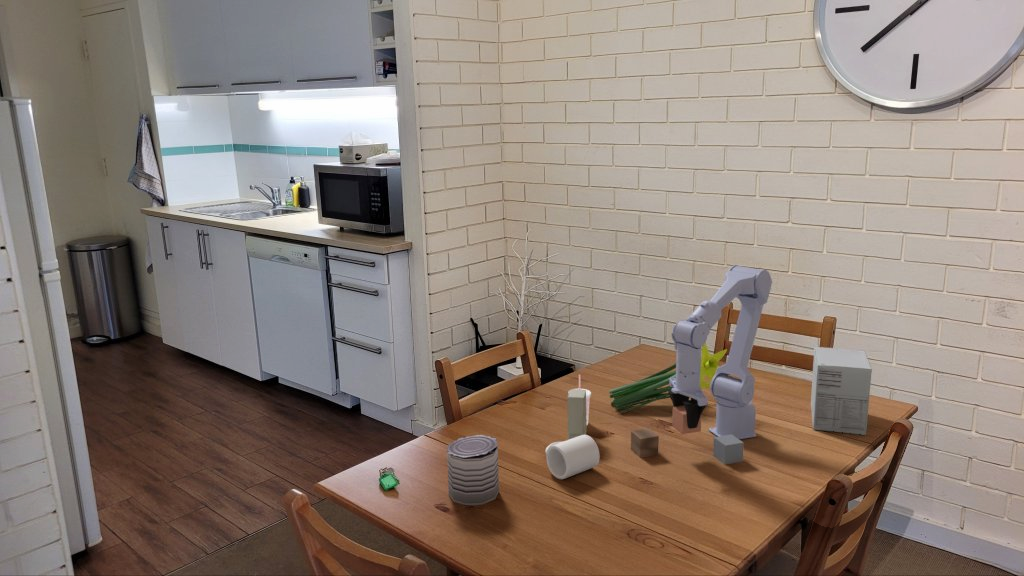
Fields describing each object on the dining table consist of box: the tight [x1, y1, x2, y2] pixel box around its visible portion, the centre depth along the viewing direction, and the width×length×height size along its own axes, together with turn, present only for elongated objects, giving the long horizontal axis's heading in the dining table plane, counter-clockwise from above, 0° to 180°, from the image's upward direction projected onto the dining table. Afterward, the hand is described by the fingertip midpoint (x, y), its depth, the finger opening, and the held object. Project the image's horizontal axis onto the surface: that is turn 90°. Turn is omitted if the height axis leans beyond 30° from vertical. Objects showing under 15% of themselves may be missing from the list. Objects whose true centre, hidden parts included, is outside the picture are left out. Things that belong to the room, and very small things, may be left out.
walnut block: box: [630, 427, 660, 458], centre depth 187 cm, size 5×5×5 cm
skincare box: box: [566, 388, 588, 440], centre depth 196 cm, size 6×4×12 cm
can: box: [446, 434, 500, 506], centre depth 168 cm, size 11×11×12 cm
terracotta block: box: [671, 406, 703, 435], centre depth 183 cm, size 5×5×5 cm
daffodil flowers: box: [608, 342, 728, 414], centre depth 215 cm, size 17×15×35 cm
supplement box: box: [810, 346, 873, 436], centre depth 202 cm, size 17×13×18 cm
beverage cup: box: [567, 374, 592, 426], centre depth 204 cm, size 6×6×14 cm
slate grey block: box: [712, 434, 744, 465], centre depth 182 cm, size 5×5×5 cm
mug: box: [544, 434, 600, 480], centre depth 179 cm, size 12×10×8 cm
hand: (686, 423), depth 183 cm, fingers closed on terracotta block, 5 cm apart
